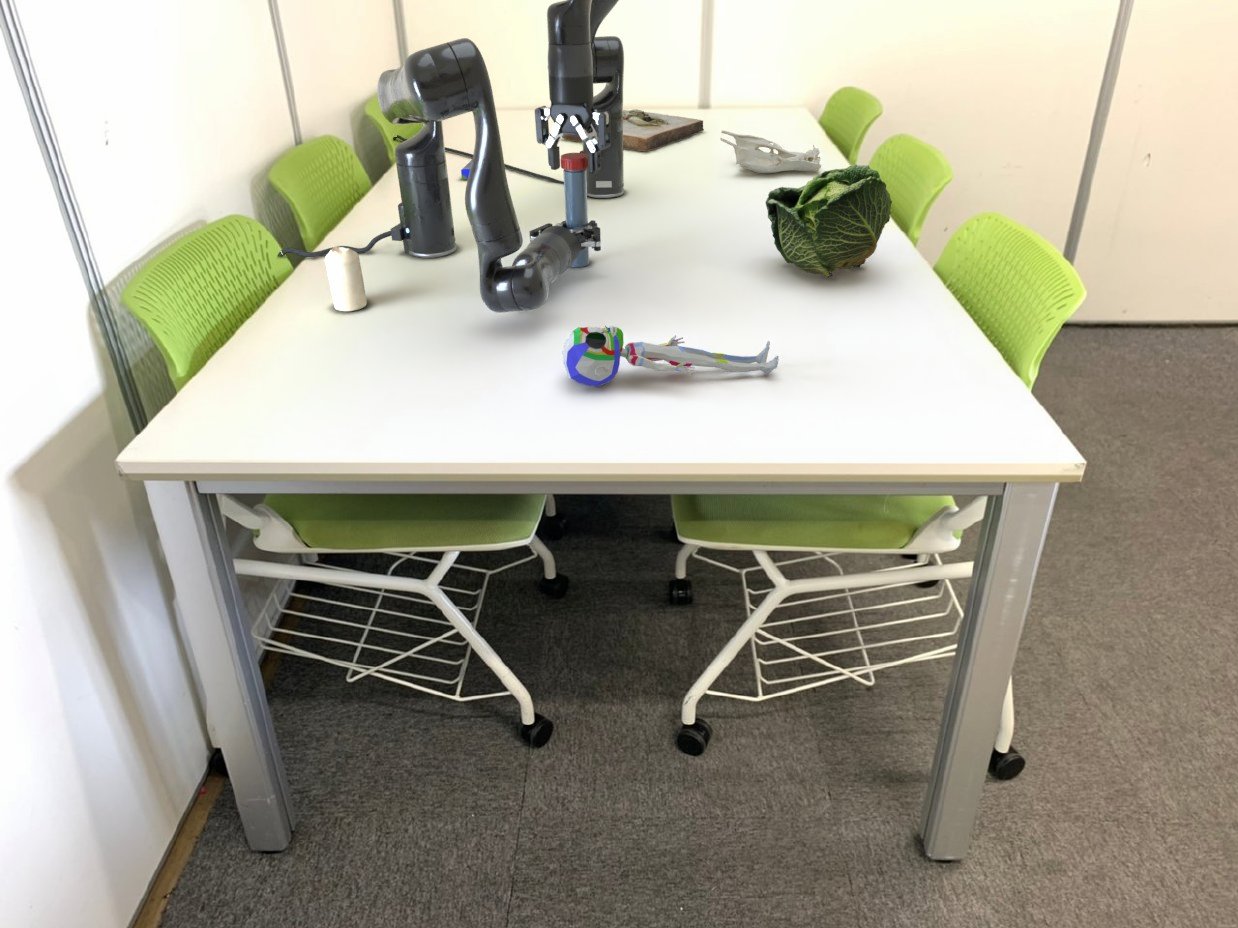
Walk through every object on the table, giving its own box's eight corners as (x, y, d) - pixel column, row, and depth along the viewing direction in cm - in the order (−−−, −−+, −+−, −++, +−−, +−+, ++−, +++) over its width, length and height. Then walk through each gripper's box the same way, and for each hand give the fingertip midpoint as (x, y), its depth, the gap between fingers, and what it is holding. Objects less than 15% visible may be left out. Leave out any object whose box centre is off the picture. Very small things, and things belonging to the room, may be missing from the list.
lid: (589, 170, 158) (589, 158, 157) (562, 171, 157) (561, 159, 156) (586, 163, 162) (586, 152, 161) (559, 164, 162) (559, 153, 160)
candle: (373, 301, 154) (363, 244, 149) (355, 313, 150) (344, 255, 145) (346, 297, 156) (335, 241, 150) (327, 309, 151) (316, 252, 146)
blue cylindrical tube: (566, 267, 168) (561, 162, 158) (569, 259, 171) (564, 157, 161) (588, 267, 167) (584, 162, 157) (590, 260, 171) (586, 157, 161)
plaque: (647, 125, 237) (559, 112, 252) (647, 153, 241) (560, 139, 256) (706, 107, 258) (622, 97, 273) (705, 133, 262) (622, 121, 277)
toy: (785, 354, 123) (568, 337, 118) (772, 408, 127) (562, 393, 123) (768, 325, 132) (564, 307, 127) (755, 376, 136) (559, 361, 131)
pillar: (489, 151, 236) (469, 170, 219) (489, 159, 237) (470, 179, 220) (481, 151, 236) (460, 170, 220) (481, 159, 237) (461, 179, 221)
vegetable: (790, 294, 172) (743, 202, 165) (870, 239, 174) (827, 145, 166) (841, 308, 154) (791, 205, 146) (931, 246, 155) (886, 140, 148)
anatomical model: (722, 127, 227) (822, 125, 223) (721, 164, 232) (819, 163, 228) (719, 141, 215) (824, 139, 211) (718, 179, 220) (821, 179, 216)
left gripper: (588, 236, 150) (617, 207, 164) (510, 230, 154) (545, 202, 168) (590, 279, 154) (618, 247, 168) (513, 271, 158) (547, 241, 172)
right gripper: (618, 71, 151) (619, 170, 160) (545, 66, 157) (550, 162, 166) (598, 78, 146) (600, 180, 155) (522, 72, 151) (529, 172, 160)
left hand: (581, 224), depth 168 cm, fingers closed on blue cylindrical tube, 4 cm apart
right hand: (574, 171), depth 160 cm, fingers open, 7 cm apart
